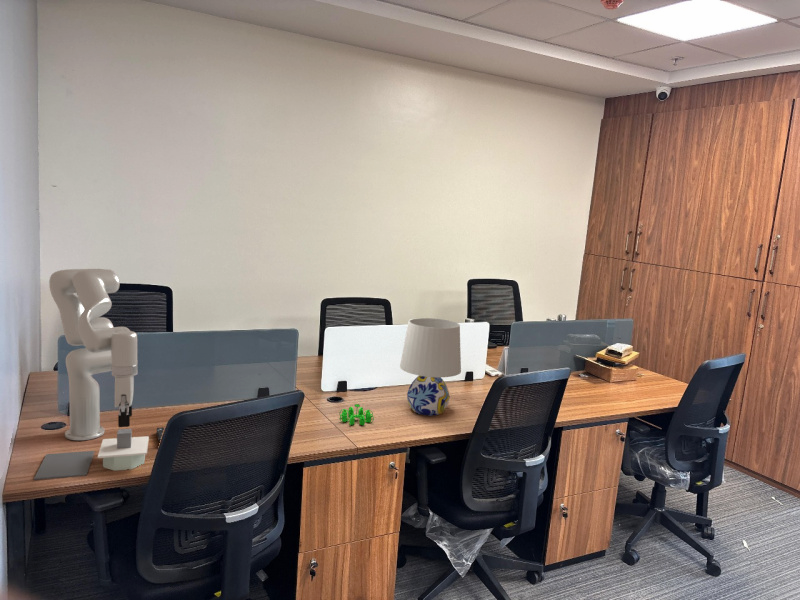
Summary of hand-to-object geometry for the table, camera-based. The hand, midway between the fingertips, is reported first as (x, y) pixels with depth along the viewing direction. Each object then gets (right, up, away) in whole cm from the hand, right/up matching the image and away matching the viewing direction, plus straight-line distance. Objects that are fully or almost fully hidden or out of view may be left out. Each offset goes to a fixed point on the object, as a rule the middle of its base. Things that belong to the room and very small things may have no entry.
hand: (125, 421), depth 189 cm
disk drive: (+6, -12, +24) cm, 27 cm away
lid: (-1, -9, +2) cm, 9 cm away
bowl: (-2, -14, +2) cm, 14 cm away
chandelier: (+70, -11, +55) cm, 90 cm away
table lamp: (+101, -11, +74) cm, 126 cm away
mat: (-18, -13, -3) cm, 22 cm away
